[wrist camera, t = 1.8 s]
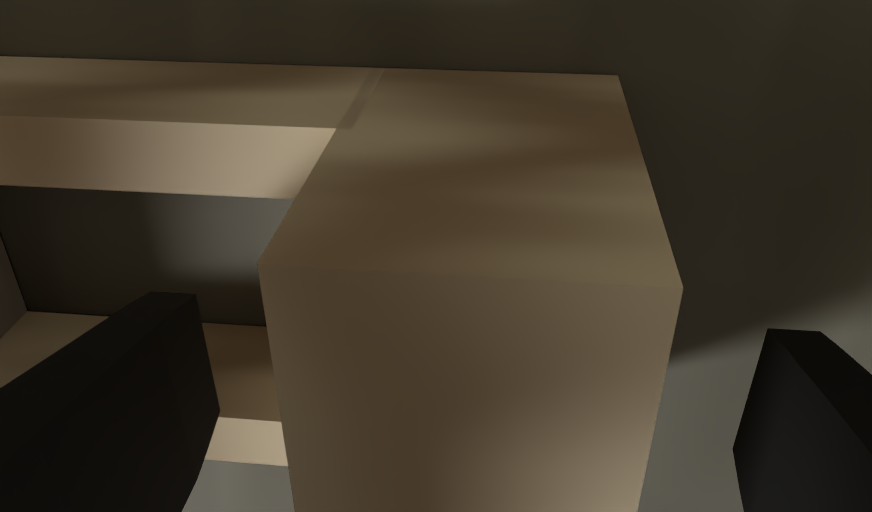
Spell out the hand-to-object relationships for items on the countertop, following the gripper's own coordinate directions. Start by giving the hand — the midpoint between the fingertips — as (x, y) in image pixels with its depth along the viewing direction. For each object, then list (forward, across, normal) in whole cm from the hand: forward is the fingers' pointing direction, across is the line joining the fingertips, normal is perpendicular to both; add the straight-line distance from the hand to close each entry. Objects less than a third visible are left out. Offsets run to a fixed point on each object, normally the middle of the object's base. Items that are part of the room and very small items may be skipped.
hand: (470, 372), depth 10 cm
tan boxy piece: (+3, +4, 0) cm, 5 cm away
